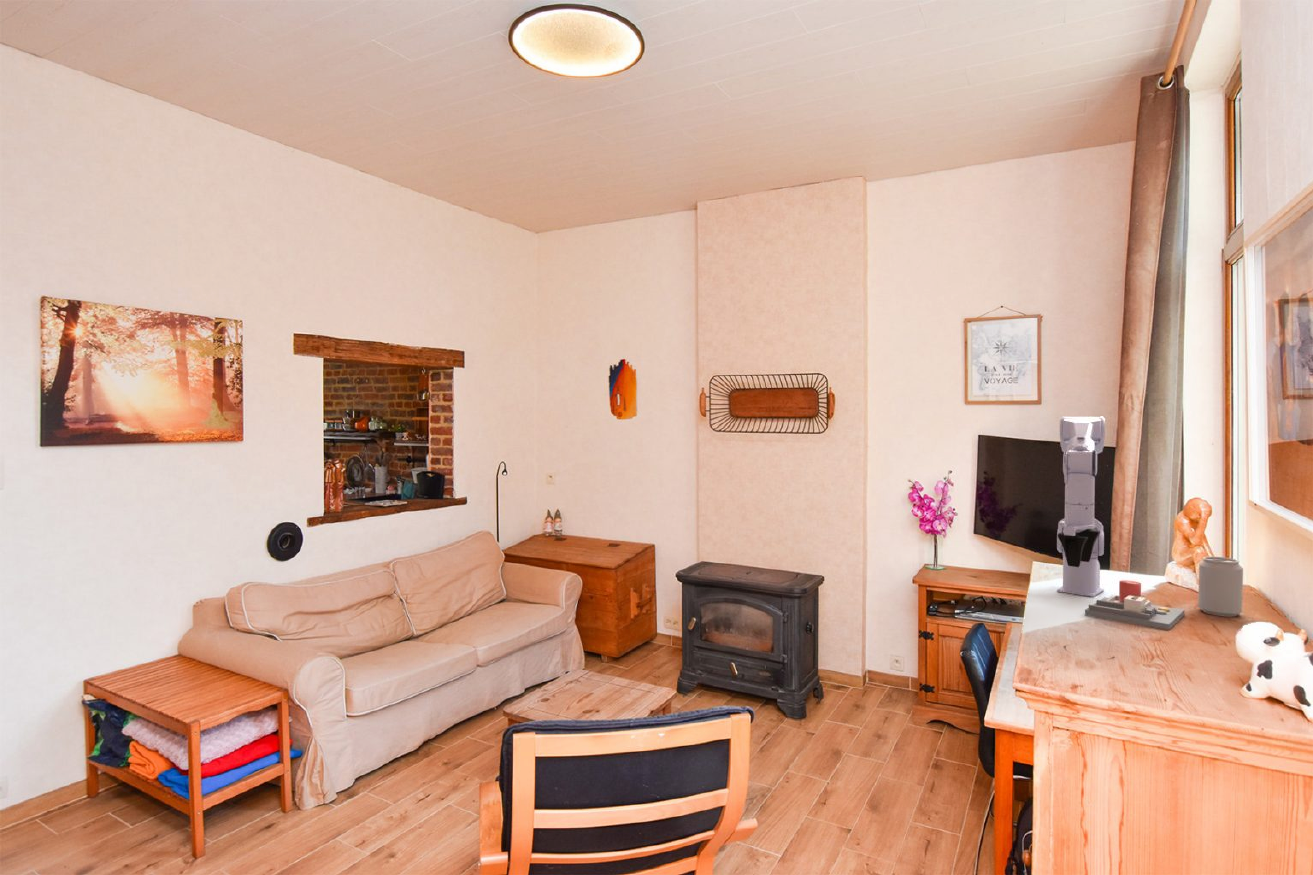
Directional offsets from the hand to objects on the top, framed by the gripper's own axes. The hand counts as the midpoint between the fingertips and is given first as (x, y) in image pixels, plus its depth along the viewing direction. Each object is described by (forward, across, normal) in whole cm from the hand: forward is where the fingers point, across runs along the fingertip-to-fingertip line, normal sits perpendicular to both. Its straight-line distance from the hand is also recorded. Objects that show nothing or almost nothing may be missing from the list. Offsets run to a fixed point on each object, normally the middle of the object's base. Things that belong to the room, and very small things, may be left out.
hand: (1078, 563), depth 159 cm
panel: (+10, -1, +10) cm, 14 cm away
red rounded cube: (+9, -5, +9) cm, 13 cm away
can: (+10, -17, +23) cm, 30 cm away
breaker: (+8, +2, +11) cm, 14 cm away
